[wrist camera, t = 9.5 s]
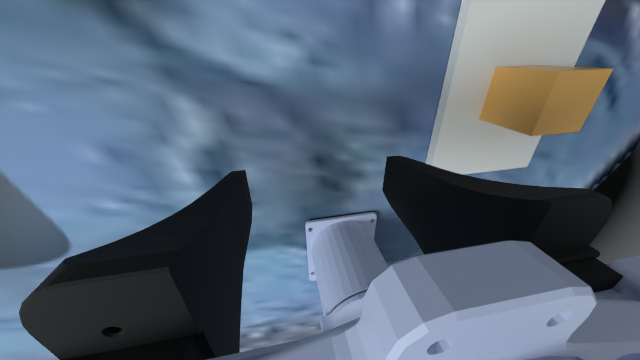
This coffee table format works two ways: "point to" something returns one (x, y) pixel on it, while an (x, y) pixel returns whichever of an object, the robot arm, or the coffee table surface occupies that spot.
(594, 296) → the robot arm
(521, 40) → the plate
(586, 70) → the tan cardboard-like box
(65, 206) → the coffee table surface
